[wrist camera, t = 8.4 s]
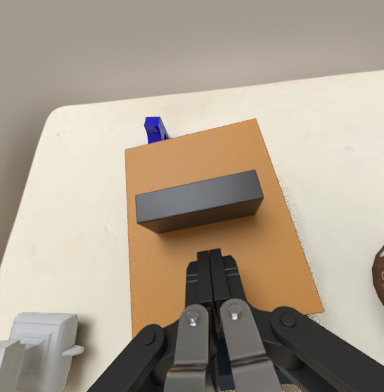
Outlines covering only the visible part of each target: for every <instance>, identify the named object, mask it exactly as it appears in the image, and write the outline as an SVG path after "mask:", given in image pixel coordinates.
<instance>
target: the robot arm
mask: <svg viewBox="0 0 384 392" xmlns="http://www.w3.org/2000/svg"><path fill="white" fill-rule="evenodd" d="M220 324H221V327H220ZM221 328H222V332H224V334H225V339H226V344H227V349H228V353H229V358H230V363H231V369H232V374H233V379H234V384H235V389H236V392H283V390H282V387H281V385H280V382H279V379H278V377H277V374H276V371H275V369H274V366H273V365H275V366H277V367H278V368H279V369H280V370H281V372H283V373H284V374H285V375H286V376H287V377H288V378H289V379H290V380H291V381H292V382H293V383H294V384H295V385H296V386H297V387H299V388H300V389H301V390H302V391H303V392H384V366H383V365H381V364H380V363H378V362H377V361H375V360H374V359H372V358H370V357H369V356H367V355H366V354H364V353H363V352H361V351H360V350H358V349H356V348H355V347H353V346H352V345H350V344H349V343H347V342H346V341H344V340H342V339H341V338H339V337H338V336H336V335H335V334H333V333H332V332H330V331H328V330H327V329H325V328H324V327H322V326H321V325H319V324H318V323H316V322H314V321H313V320H311V319H310V318H308V317H307V316H305V315H304V314H302V313H300V312H299V311H297V310H296V309H294V308H291V307H288V306H280V307H277V308H275V309H274V310H273V311H272V312H269V311H263V310H259V309H257V308H255V307H253V306H252V305H251V304H250V303H249V302H248V301H247V299H246V296H245V292H244V289H243V285H242V281H241V278H240V274H239V271H238V267H237V263H236V260H235V259H234V258H233V257H232V256H231V255H227V256H222V253H221V248H217V249H211V250H209V251H208V250H205V251H200V252H197V261H192V262H190V263H189V265H188V267H187V268H186V289H185V308H184V310H183V311H182V313H181V315H180V318H179V319H178V320H176V321H175V322H173V323H172V324H170V325H168V326H166V327H164V328H162V327H161V326H160V325H158V324H149V325H147V326H145V327H144V328H142V329H141V330H140V331H139V333H138V334H137V335H136V336H135V337H134V338H133V339H132V341H131V342H130V343H129V344H128V345H127V346H126V347H125V349H124V350H123V351H122V352H121V353H120V354H119V355H118V357H117V358H116V359H115V360H114V361H113V362H112V363H111V365H110V366H109V367H108V368H107V369H106V370H105V371H104V373H103V374H102V375H101V376H100V377H99V378H98V379H97V381H96V382H95V383H94V384H93V385H92V386H91V387H90V388H89V390H88V391H87V392H220V386H219V358H218V342H217V333H218V332H221Z"/></svg>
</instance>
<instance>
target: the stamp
mask: <svg viewBox="0 0 384 392" xmlns="http://www.w3.org/2000/svg"><path fill="white" fill-rule="evenodd" d="M78 322H79V321H78V317H77V314H56V313H30V312H23V313H21V314H19V315H17V316H16V317H15V319H14V322H13V326H12V330H11V333H10V337H9V340H6V341H0V392H63V391H64V388H65V385H66V381H67V377H68V373H69V370H70V368H71V363H72V357H73V356H74V355H79V354H81V353H82V352H83V351H84V347H82V346H78V345H75V340H76V334H77V328H78Z"/></svg>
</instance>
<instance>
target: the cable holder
mask: <svg viewBox="0 0 384 392" xmlns="http://www.w3.org/2000/svg"><path fill="white" fill-rule="evenodd" d="M144 127H145V129H146V132H147V136H148V144H151V143H155V142H159V141H163V140H167V139H168V134H167V131H166V129H165V127H164V125H163V122H162V120H161V118H160V117H146V120H145V124H144Z"/></svg>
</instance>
